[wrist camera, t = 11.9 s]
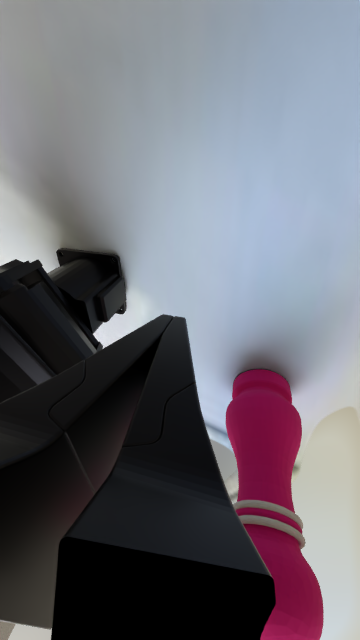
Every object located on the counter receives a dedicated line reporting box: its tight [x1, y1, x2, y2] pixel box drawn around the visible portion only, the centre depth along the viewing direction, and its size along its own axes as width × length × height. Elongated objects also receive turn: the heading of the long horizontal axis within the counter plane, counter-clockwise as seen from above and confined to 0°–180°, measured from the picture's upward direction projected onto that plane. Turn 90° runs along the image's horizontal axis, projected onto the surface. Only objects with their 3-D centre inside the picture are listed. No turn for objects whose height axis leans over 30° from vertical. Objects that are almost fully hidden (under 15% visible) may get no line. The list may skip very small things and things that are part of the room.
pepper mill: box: [226, 369, 323, 640], centre depth 19 cm, size 7×7×20 cm
